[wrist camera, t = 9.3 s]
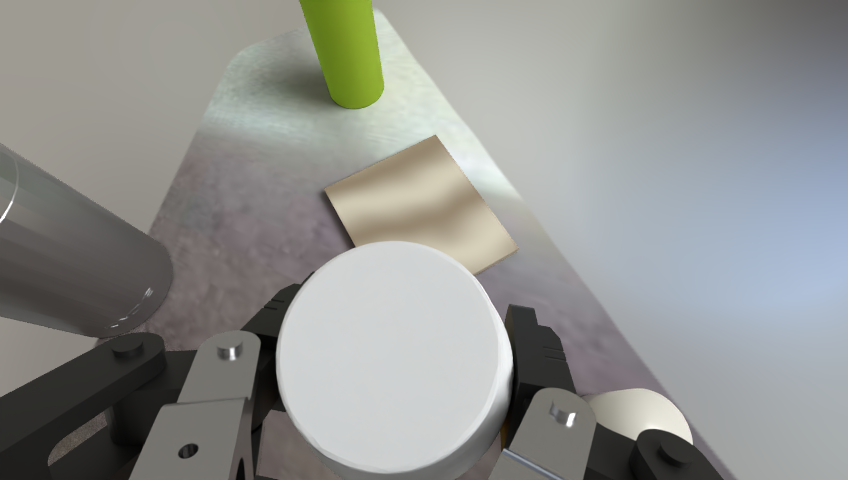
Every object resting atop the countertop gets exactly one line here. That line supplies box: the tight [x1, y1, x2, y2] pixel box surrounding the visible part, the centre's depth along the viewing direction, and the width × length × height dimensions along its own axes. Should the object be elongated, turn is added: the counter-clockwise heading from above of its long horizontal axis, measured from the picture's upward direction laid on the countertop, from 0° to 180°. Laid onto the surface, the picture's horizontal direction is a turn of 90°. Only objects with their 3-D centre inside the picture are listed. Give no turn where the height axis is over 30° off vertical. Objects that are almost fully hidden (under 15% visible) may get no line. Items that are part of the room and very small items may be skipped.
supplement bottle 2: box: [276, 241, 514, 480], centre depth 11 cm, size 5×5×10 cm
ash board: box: [324, 135, 519, 276], centre depth 36 cm, size 14×12×1 cm
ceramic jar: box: [581, 388, 693, 445], centre depth 26 cm, size 5×5×7 cm
